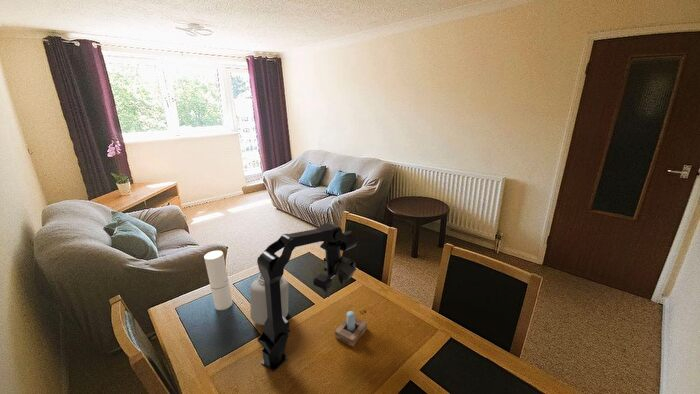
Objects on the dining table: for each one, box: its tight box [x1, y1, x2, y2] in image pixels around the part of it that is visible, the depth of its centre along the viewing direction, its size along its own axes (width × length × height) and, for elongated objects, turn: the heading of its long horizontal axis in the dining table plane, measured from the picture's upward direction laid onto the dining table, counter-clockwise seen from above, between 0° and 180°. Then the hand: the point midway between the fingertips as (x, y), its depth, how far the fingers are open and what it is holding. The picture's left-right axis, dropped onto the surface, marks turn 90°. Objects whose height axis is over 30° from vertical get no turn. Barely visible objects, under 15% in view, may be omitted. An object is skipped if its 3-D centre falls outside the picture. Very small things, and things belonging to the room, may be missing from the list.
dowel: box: [346, 310, 356, 333], centre depth 106 cm, size 3×3×9 cm
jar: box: [249, 274, 289, 326], centre depth 114 cm, size 19×15×25 cm
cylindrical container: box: [203, 250, 233, 311], centre depth 121 cm, size 7×7×25 cm
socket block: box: [334, 316, 368, 347], centre depth 107 cm, size 10×8×3 cm
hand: (335, 290), depth 112 cm, fingers open, 9 cm apart
